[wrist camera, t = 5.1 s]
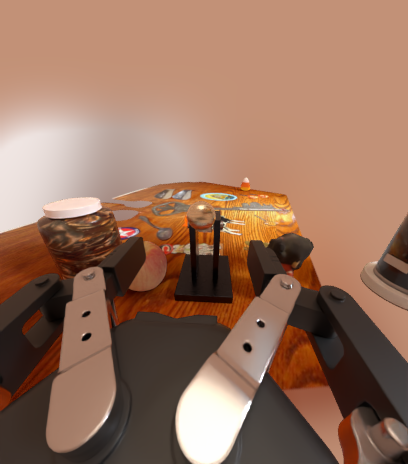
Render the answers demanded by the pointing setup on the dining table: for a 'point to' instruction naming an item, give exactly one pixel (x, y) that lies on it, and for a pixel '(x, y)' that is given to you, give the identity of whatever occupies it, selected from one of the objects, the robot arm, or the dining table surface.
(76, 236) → the jar
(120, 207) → the dining table surface
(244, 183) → the candy corn
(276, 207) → the dining table surface
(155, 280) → the apple
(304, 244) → the figurine
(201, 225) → the lever
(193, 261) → the bracket
